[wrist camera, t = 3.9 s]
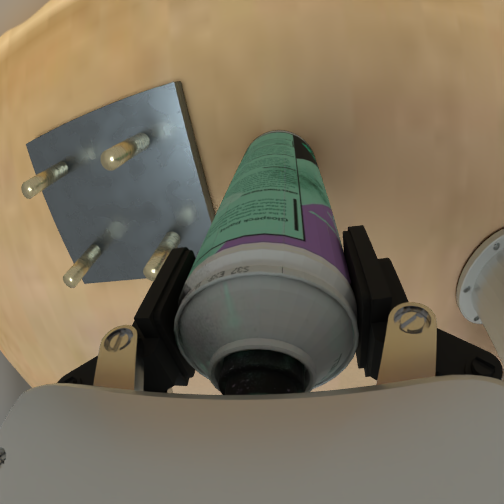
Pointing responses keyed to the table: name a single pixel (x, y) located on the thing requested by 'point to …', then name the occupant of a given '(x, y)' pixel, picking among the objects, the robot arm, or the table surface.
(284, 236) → the spray can
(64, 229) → the post plate
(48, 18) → the table surface
